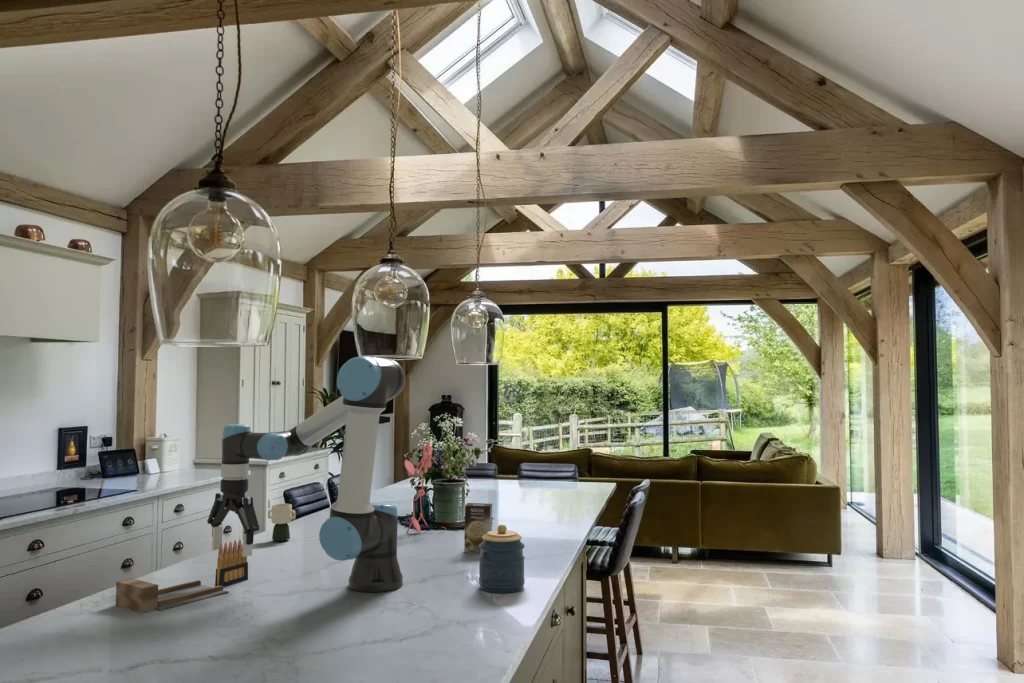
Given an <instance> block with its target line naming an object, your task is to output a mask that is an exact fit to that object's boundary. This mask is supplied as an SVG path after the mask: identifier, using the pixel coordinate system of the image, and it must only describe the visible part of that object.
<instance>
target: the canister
mask: <svg viewBox="0 0 1024 683" xmlns="http://www.w3.org/2000/svg"><path fill="white" fill-rule="evenodd" d="M522 538H523V537H522V535H520V534H519V533H518V532H517V531H515V530H509V529H508V530H507V526H506V525H505V524H502V523H501V524H499V525H498V526H497V529H496V530H492V531H489V532H487V534H485V535H483V536H482V539H484V540H483V542H482V543H480V544H479V547H480V549H481V553H480V555H479V556H478V560H479V566H478V569H479V572H478V573H479V576H478V585H479V589H480V590H482V591H483V592H488V593H495V594H509V593H510V594H511V593H515V592H519V591H522V590H523V589H524V586H525V559H526V558H525V556H524V548H525V547H526V546H525V544H524V543H523V542H522V541H521V539H522Z"/></svg>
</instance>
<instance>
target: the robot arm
mask: <svg viewBox="0 0 1024 683" xmlns="http://www.w3.org/2000/svg"><path fill="white" fill-rule="evenodd" d="M405 383H406V374H405V371H404V369H403V367H402V365H400V363H399V362H397V361H396V360H394V359H392V358H387V357H377V356H376V357H374V356H369V355H367V356H363V355H361V356H356V357H355V356H354V357H352V358H350V359H348V360H347V361H346V362H345V363H344V364H343V365H342V366H341V367H340V368H339V371H338V374H337V379H336V387H337V389H338V391H339V394H340V397H339V398H337V399H335V400H334V401H332V402H330V403H329V404H327V405H326V406H325V407H323V408H321V409H320V410H318V411H316V412H315V413H314V414H312V415H310V416H309V417H307V418H306V419H305V420H303V421H302V422H300V423H298V424H297V425H296V426H294V427H292V428H290V429H288V430H285V431H273V432H272V431H270V432H253V431H252V430H251V425H250V424H241V423H240V424H236V423H235V424H226V425H225V426H224V427H223V431H222V438H221V467H220V478H221V479H220V490H219V491H220V492H217V493H215V496H214V497H215V498H214V502H213V505H212V507H211V510H210V512H209V515H208V519H207V524H208V525H210V527H212V529H211V536H212V541H211V542H212V543H211V550H212V551H218V550H219V547H220V544H222V545H223V530H224V529H223V524H222V523H223V521H224V520H225V518H226V517H227V515H228V514H229V512H230V511H231V512H234V514H236V515H237V516H238V519H239V521H240V523H241V525H242V528H243V530H244V532H243V533H242V544H243V548H242V557H246V556H247V557H249V556H252V555H253V545H254V537H255V536H254V535H255V534H254V533H255V532H257V531H260V525H259V521H258V518H257V514H256V511H255V507H254V497H253V496H247V497H246V494H245V493H246V492H248V491H249V478H248V477H249V466H250V459H255V460H264V461H268V462H269V461H279V460H281V459H282V458H286V457H296V456H299V457H300V456H301V455H302V456H303V455H305V454H307V453H308V452H310V451H311V448H313V446H314V445H315V444H316V443H318V442H320V441H322V440H323V439H324V438H326V437H328V436H329V435H330V434H333V433H334V432H335V431H337V430H338V429H340V428H342V427H343V426H345V431H344V438H343V439H344V440H343V447H342V448H343V449H342V457H341V466H340V474H339V484H338V485H339V486H338V491H337V492H338V493H337V500H336V501H335V502H333V503H332V504H331V505H330V510H329V518H327V519H326V520H325V521H324V522H323V523H322V525H321V526H320V529H319V534H318V536H319V543H320V546H321V548H322V549H323V550H324V552H325V554H326V555H327V556H328V557H330V558H331V559H333V560H336V561H339V562H340V561H341V562H343V561H349V560H353V559H354V563H353V564H352V569H351V572H350V575H349V577H348V588H349V589H351V590H353V591H356V592H364V593H377V592H378V593H379V592H381V593H382V592H388V591H393V590H396V589H399V588H401V587H402V586H403V584H404V581H403V580H404V578H403V577H404V576H403V574H402V572H401V568H400V564H399V560H398V520H399V517H398V508H397V506H396V505H394V504H388V503H375V502H374V503H373V502H371V495H372V494H371V493H372V485H373V477H374V476H373V475H374V468H375V467H374V466H375V458H376V449H377V442H378V441H377V440H378V433H379V432H378V431H379V422H380V415H381V414H382V413H383V412H385V411H386V409H387V403H388V402H390V401H392V400H394V398H396V397H397V396H398V395H400V394H401V393H402V391H403V390H404V388H405Z"/></svg>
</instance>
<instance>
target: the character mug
mask: <svg viewBox="0 0 1024 683" xmlns="http://www.w3.org/2000/svg"><path fill="white" fill-rule="evenodd" d="M292 506H293V505H292V504H291V503H276V504H272V505H271V508H270V509H268V510H267V519H270V520H271V523H272V524H275V525H273V530H272V535H271V536H272V537H271V540H272V541H275V542H281V541H283V542H285V541H287V540H289V539H291V535H290V534H291V533H290V526H289V523H291V522H292V521H293V520H296V512H297V511H296V509H295V510H294V509H292V508H293V507H292Z"/></svg>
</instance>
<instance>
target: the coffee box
mask: <svg viewBox="0 0 1024 683" xmlns="http://www.w3.org/2000/svg"><path fill="white" fill-rule="evenodd" d="M489 531H493V503H481V502H467V503H466V504H465V506H464V539H463V540H464V543H463V546H464V549H463V553H467V554H468V553H469V554H481V549H480V547H479V544H480V543H482V542H483V540H484V539H482V536H483V535H485V534H487V532H489Z"/></svg>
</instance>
